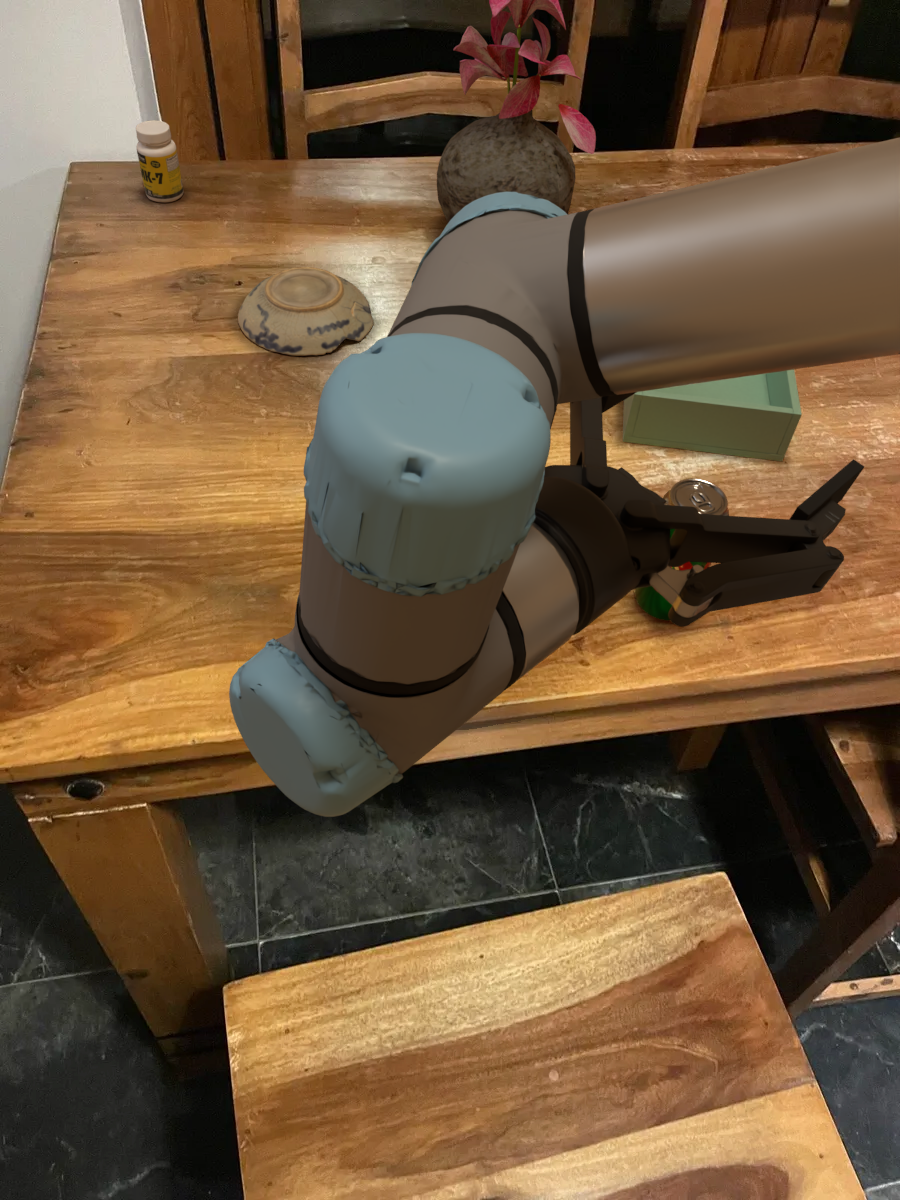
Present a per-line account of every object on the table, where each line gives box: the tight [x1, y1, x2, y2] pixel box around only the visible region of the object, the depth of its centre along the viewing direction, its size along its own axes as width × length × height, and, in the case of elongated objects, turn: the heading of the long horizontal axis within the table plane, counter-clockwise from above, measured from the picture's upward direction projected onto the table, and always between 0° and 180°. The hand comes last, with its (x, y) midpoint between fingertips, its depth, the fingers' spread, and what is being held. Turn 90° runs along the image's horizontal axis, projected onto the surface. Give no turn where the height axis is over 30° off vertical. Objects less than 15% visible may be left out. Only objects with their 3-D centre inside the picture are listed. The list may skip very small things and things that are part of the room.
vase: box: [436, 0, 597, 224], centre depth 104 cm, size 17×17×30 cm
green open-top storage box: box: [622, 369, 803, 462], centre depth 94 cm, size 16×16×6 cm
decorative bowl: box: [237, 266, 374, 357], centre depth 102 cm, size 15×4×15 cm
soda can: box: [634, 478, 730, 622], centre depth 74 cm, size 5×5×12 cm
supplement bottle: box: [135, 120, 184, 204], centre depth 116 cm, size 5×5×8 cm
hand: (753, 415), depth 57 cm, fingers open, 13 cm apart
